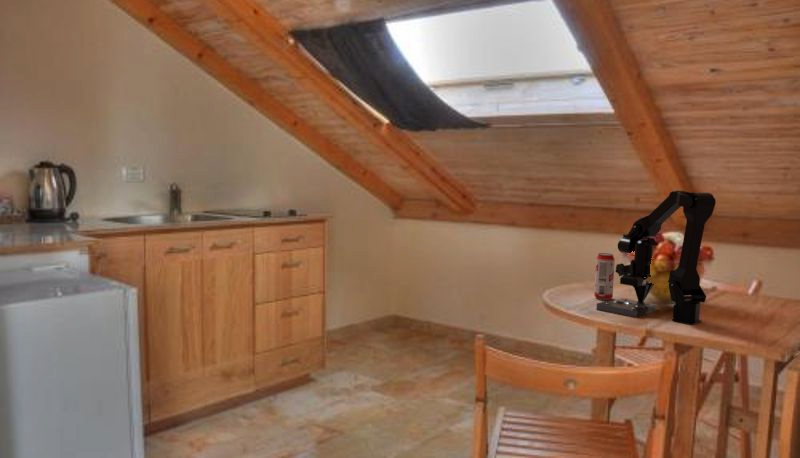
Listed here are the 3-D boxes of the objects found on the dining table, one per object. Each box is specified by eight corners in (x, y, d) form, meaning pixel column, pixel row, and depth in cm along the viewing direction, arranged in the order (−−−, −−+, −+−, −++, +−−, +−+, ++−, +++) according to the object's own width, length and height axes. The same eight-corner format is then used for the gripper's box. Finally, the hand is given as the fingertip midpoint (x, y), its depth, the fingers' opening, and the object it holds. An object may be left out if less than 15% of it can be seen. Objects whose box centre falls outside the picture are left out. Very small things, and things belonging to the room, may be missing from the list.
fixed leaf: (649, 313, 203) (650, 306, 203) (636, 317, 198) (637, 310, 198) (609, 306, 214) (610, 299, 214) (596, 309, 208) (596, 302, 208)
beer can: (592, 299, 225) (594, 254, 223) (596, 296, 230) (598, 252, 229) (610, 301, 222) (613, 255, 220) (614, 298, 227) (616, 253, 226)
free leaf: (656, 310, 209) (657, 303, 209) (644, 313, 204) (645, 306, 203) (622, 304, 218) (622, 297, 218) (610, 306, 212) (610, 299, 212)
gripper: (635, 252, 225) (632, 295, 226) (606, 257, 212) (604, 302, 214) (665, 256, 216) (662, 301, 218) (638, 261, 204) (635, 309, 206)
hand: (640, 303), depth 214 cm, fingers closed
